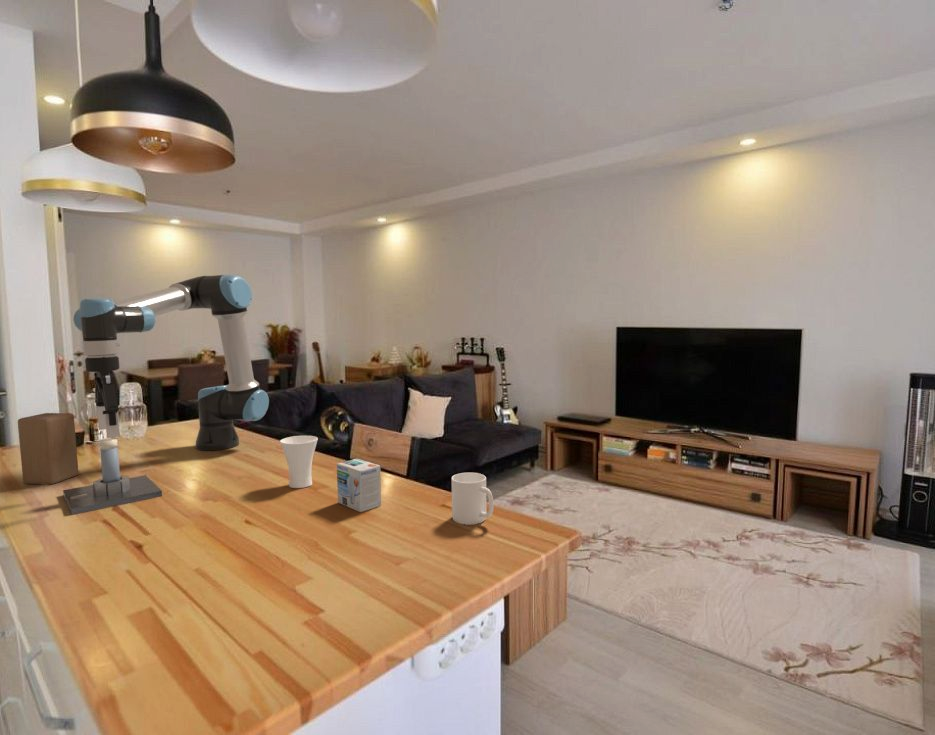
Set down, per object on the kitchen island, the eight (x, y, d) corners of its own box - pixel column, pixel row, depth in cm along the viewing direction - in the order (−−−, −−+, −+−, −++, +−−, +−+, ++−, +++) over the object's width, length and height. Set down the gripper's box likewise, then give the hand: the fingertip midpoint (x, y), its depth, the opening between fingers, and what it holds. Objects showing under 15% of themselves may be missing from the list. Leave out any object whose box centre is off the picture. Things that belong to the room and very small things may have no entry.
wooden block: (80, 475, 165) (75, 412, 163) (52, 485, 155) (46, 418, 153) (51, 474, 166) (45, 412, 164) (21, 484, 156) (15, 418, 154)
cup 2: (469, 509, 132) (469, 470, 131) (505, 522, 123) (504, 480, 122) (444, 518, 126) (444, 477, 125) (480, 533, 117) (480, 489, 116)
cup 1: (290, 493, 145) (288, 445, 144) (276, 484, 153) (274, 439, 152) (325, 485, 152) (324, 439, 151) (310, 477, 160) (308, 433, 159)
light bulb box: (336, 503, 138) (335, 463, 136) (358, 496, 142) (356, 457, 141) (361, 513, 130) (359, 470, 129) (382, 505, 135) (381, 465, 134)
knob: (119, 487, 148) (115, 436, 146) (122, 490, 145) (118, 438, 143) (102, 490, 145) (97, 438, 144) (104, 493, 142) (100, 440, 141)
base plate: (145, 479, 159) (144, 465, 159) (162, 495, 144) (161, 480, 144) (63, 495, 146) (62, 479, 145) (72, 514, 131) (70, 497, 130)
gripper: (127, 357, 135) (134, 438, 137) (110, 352, 153) (116, 423, 155) (91, 360, 130) (99, 443, 132) (78, 354, 148) (85, 428, 150)
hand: (109, 433), depth 144 cm, fingers open, 13 cm apart
